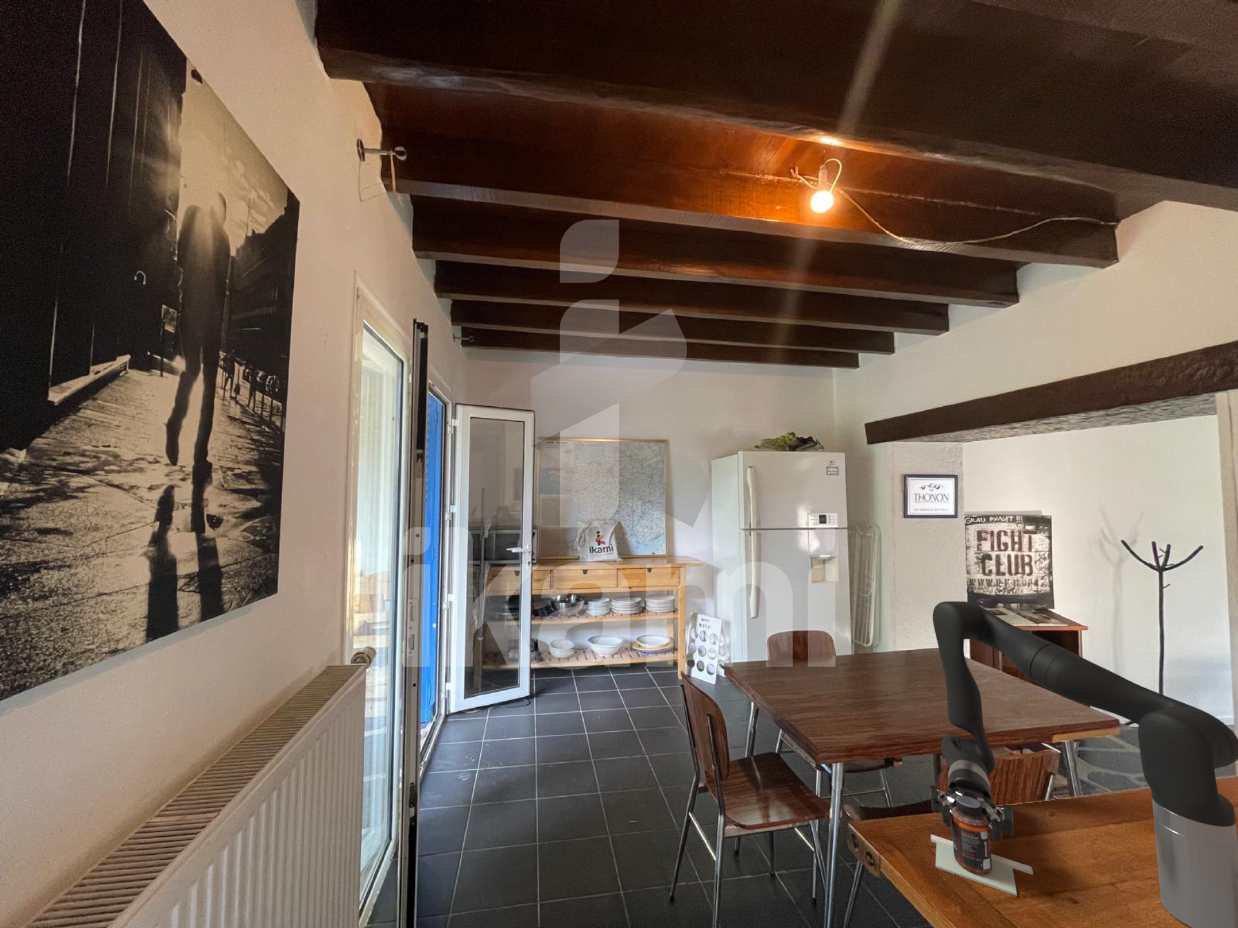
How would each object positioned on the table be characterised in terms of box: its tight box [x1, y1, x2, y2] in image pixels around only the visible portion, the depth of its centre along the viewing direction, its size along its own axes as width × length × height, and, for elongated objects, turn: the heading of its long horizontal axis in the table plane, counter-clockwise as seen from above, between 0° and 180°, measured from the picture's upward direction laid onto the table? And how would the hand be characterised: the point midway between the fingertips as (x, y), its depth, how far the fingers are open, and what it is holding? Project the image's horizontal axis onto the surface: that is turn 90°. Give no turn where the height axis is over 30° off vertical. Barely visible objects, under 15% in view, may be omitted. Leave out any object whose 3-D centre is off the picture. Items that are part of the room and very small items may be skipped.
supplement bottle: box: [951, 796, 992, 874], centre depth 93 cm, size 6×6×11 cm
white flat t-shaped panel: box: [930, 834, 1034, 897], centre depth 92 cm, size 16×10×1 cm, turn 56°
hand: (971, 829), depth 91 cm, fingers open, 6 cm apart
